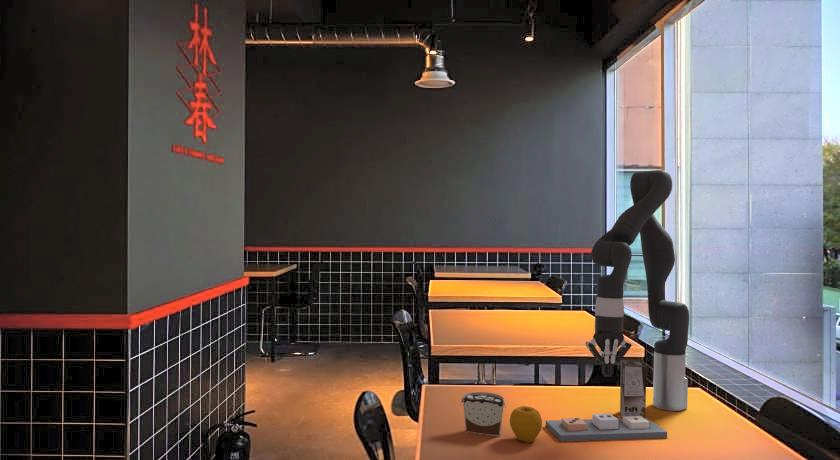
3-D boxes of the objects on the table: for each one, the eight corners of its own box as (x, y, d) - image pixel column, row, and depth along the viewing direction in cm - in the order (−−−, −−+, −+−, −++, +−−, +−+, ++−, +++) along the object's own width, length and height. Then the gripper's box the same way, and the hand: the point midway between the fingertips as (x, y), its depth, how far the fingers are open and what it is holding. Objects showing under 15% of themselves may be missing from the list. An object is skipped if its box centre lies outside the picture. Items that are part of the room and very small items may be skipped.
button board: (645, 423, 180) (645, 417, 180) (667, 437, 168) (667, 431, 168) (545, 426, 176) (545, 420, 176) (560, 441, 164) (560, 435, 164)
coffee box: (646, 422, 181) (647, 367, 180) (623, 420, 182) (624, 365, 182) (641, 412, 190) (642, 360, 189) (619, 411, 191) (620, 358, 190)
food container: (509, 429, 173) (510, 394, 172) (505, 437, 167) (505, 400, 167) (466, 424, 177) (466, 389, 176) (460, 431, 171) (461, 395, 171)
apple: (507, 433, 169) (508, 401, 169) (538, 434, 169) (539, 402, 169) (511, 445, 161) (511, 411, 161) (544, 446, 160) (544, 412, 160)
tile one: (640, 424, 176) (640, 415, 176) (649, 431, 171) (649, 421, 171) (622, 425, 175) (622, 415, 175) (631, 431, 170) (631, 421, 170)
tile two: (609, 422, 175) (610, 412, 175) (618, 428, 170) (618, 418, 170) (592, 423, 174) (592, 413, 174) (600, 429, 169) (600, 419, 169)
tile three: (579, 426, 174) (579, 416, 174) (586, 433, 169) (586, 423, 169) (561, 427, 173) (561, 417, 173) (568, 433, 168) (568, 423, 168)
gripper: (625, 311, 176) (623, 373, 176) (581, 311, 174) (579, 373, 174) (638, 315, 168) (636, 379, 168) (592, 315, 166) (590, 380, 167)
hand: (607, 376), depth 171 cm, fingers closed
